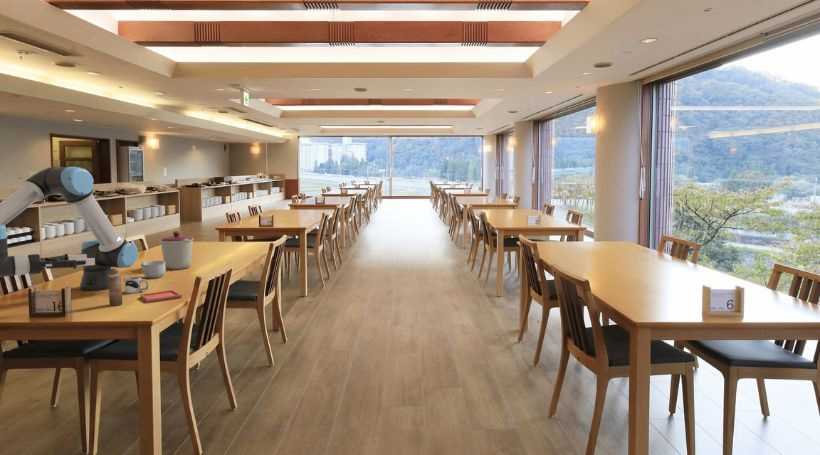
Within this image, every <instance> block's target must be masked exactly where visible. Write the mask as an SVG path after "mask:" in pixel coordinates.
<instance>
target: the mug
mask: <svg viewBox="0 0 820 455" xmlns="http://www.w3.org/2000/svg"><path fill="white" fill-rule="evenodd" d="M142 282H143V283H144V282H145V283H146V286H145V287H142ZM149 284H150V283H149V280H148V279H144V278H142V277H141V276H128V277H125V278H124V288H125V294H127V295H130V294H135V295H136V294H139V293H140V294H141V293H142V291H147V290H149V288H150V285H149Z"/></svg>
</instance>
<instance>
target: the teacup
mask: <svg viewBox="0 0 820 455" xmlns="http://www.w3.org/2000/svg"><path fill="white" fill-rule="evenodd" d="M140 267H141V269H142V270H143V275H144V276H145V277H147V278H148V279H159V278H162V277H163V276H164V275H165V274H166V270H167V268H166V266H165V261H164V260H161V259H160V260H158V259H157V260H150V261H143V262H141V263H140Z"/></svg>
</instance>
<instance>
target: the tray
mask: <svg viewBox="0 0 820 455" xmlns="http://www.w3.org/2000/svg"><path fill="white" fill-rule="evenodd" d="M139 296H140V298H139V299H142V300H143V301H144V302H145V303H147V304H151V303H157V302H165V301H170V300H176V299H178V300H179V299H182V298H183V297H182V293H179V292H178V291H176V290H174V289H169V290H168V289H167V290H162V291H156V292H147V293H140V295H139Z"/></svg>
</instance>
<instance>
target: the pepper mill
mask: <svg viewBox="0 0 820 455" xmlns="http://www.w3.org/2000/svg"><path fill="white" fill-rule="evenodd" d="M108 288H109V289H108V300H109V307H118V306H122V305H123V292H122V291H123V290H122V289H123V288H122V277H121V275H120V273H119V270H118V268H117V267H111V270H110V274H109V277H108Z"/></svg>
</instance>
